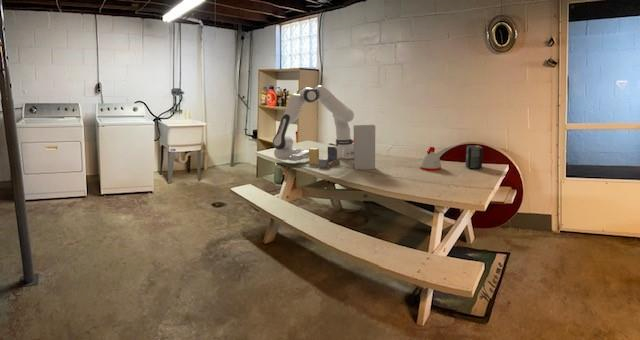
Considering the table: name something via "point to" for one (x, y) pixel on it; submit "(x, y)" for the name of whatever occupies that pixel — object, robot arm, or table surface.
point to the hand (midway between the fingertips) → (311, 155)
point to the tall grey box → (364, 147)
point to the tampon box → (474, 156)
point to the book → (313, 155)
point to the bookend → (323, 163)
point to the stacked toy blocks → (332, 157)
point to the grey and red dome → (430, 161)
